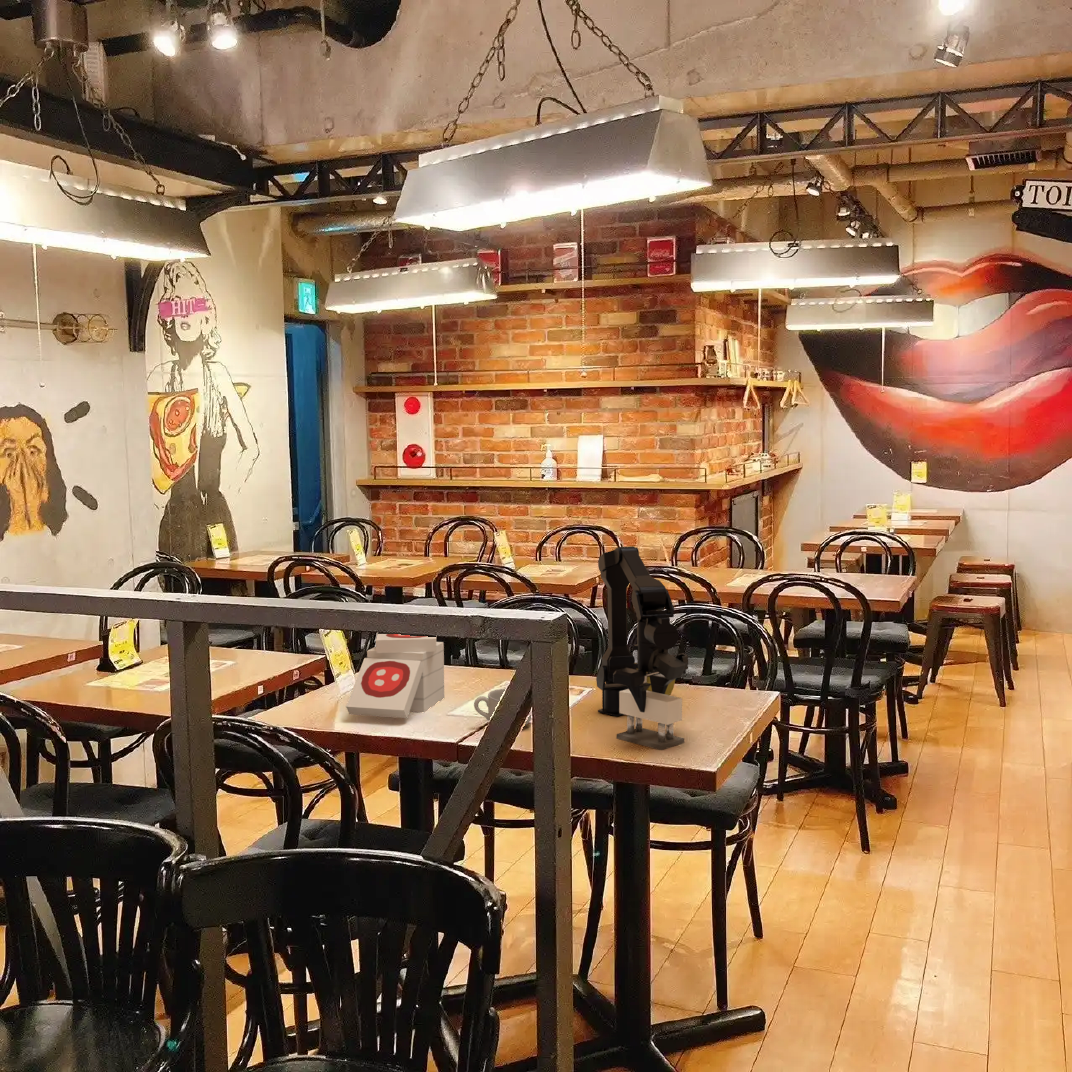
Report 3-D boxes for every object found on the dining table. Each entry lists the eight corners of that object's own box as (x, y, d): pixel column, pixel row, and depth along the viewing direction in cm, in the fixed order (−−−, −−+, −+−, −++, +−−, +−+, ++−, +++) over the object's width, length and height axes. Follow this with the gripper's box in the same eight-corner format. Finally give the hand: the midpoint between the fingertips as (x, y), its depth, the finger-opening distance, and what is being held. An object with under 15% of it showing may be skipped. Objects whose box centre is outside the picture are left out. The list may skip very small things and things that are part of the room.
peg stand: (616, 738, 254) (616, 716, 254) (639, 731, 260) (639, 710, 259) (661, 750, 245) (661, 727, 244) (684, 742, 250) (684, 720, 250)
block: (682, 720, 248) (682, 698, 248) (667, 724, 245) (667, 702, 245) (634, 709, 259) (634, 687, 258) (619, 713, 255) (619, 691, 255)
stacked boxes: (339, 722, 270) (337, 647, 269) (387, 693, 299) (386, 625, 297) (413, 727, 265) (412, 651, 264) (455, 697, 294) (454, 628, 292)
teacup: (533, 720, 271) (532, 687, 270) (534, 732, 260) (534, 698, 259) (474, 721, 270) (474, 688, 269) (473, 733, 259) (473, 699, 258)
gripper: (650, 652, 238) (650, 724, 239) (705, 640, 251) (704, 708, 252) (611, 645, 246) (611, 715, 247) (666, 633, 259) (666, 700, 260)
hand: (650, 709), depth 252 cm, fingers closed on block, 5 cm apart
